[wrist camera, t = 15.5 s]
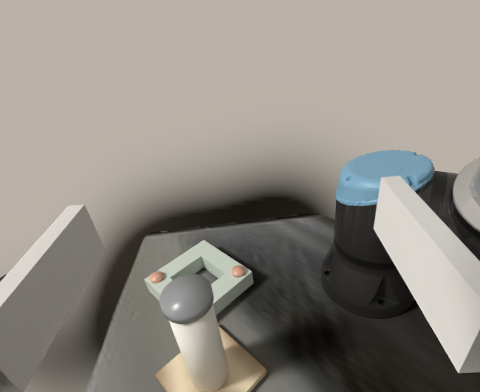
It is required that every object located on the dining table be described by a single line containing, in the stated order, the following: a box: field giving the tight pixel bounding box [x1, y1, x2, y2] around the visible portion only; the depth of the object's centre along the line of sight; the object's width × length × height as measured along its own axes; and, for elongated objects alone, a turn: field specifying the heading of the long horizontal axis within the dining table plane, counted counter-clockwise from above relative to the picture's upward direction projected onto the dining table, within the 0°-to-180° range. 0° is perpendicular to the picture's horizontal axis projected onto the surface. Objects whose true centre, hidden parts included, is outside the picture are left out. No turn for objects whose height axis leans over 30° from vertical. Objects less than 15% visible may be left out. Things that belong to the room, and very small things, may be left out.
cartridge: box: [159, 274, 229, 392], centre depth 37 cm, size 6×6×16 cm
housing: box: [145, 240, 253, 315], centre depth 55 cm, size 14×14×4 cm
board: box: [155, 327, 267, 392], centre depth 42 cm, size 11×11×1 cm
